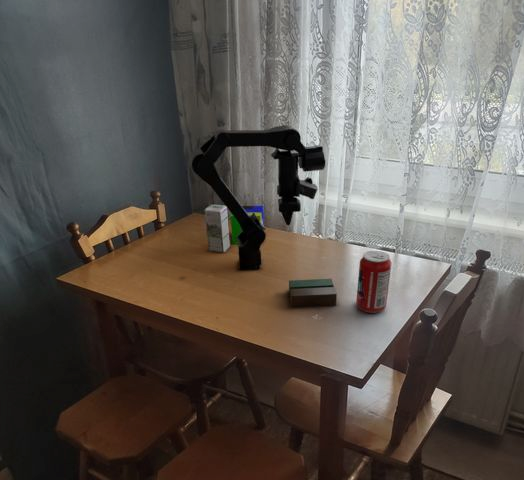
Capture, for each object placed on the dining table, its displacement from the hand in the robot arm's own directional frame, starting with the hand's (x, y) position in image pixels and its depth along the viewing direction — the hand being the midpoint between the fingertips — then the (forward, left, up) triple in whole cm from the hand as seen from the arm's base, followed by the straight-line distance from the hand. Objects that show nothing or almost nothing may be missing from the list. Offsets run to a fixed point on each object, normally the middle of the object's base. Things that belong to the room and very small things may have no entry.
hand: (288, 224), depth 150 cm
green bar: (+5, -22, -12) cm, 26 cm away
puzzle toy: (-12, +20, -12) cm, 26 cm away
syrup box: (-22, +12, -12) cm, 28 cm away
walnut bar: (+5, -27, -12) cm, 30 cm away
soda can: (+20, -31, -12) cm, 39 cm away
